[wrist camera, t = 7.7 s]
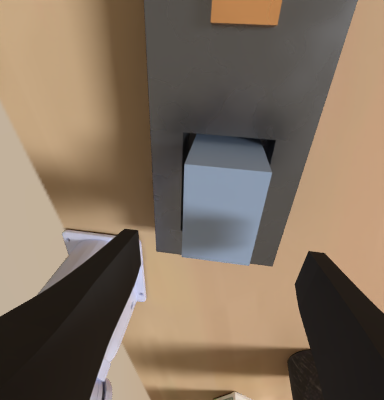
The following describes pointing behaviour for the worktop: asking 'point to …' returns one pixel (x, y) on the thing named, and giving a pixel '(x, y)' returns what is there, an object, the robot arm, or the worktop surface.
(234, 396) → the syrup box
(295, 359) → the travel mug
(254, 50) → the grey slotted block
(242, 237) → the plug
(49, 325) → the robot arm
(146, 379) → the worktop surface
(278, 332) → the worktop surface
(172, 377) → the worktop surface
